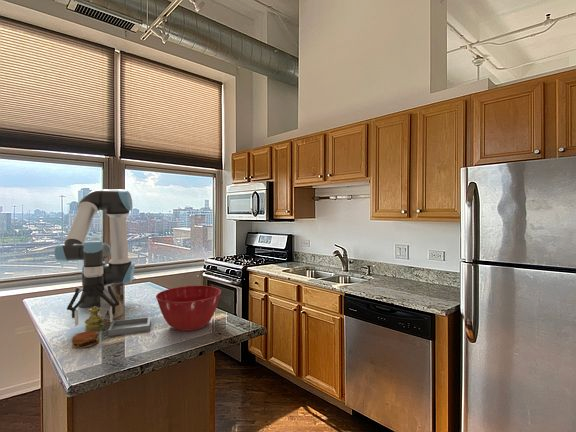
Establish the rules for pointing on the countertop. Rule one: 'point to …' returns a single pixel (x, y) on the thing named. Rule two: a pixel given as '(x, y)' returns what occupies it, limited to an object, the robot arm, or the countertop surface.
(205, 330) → the countertop surface
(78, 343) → the burger
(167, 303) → the mixing bowl
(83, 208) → the robot arm
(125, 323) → the tray
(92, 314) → the brass door knob
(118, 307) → the coffee box
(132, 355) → the countertop surface
